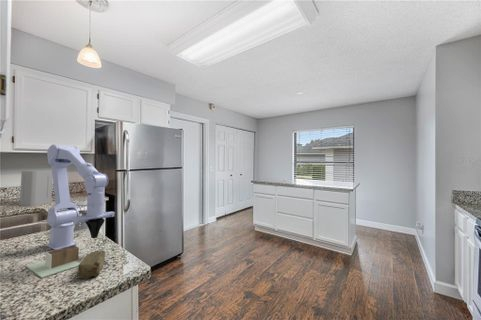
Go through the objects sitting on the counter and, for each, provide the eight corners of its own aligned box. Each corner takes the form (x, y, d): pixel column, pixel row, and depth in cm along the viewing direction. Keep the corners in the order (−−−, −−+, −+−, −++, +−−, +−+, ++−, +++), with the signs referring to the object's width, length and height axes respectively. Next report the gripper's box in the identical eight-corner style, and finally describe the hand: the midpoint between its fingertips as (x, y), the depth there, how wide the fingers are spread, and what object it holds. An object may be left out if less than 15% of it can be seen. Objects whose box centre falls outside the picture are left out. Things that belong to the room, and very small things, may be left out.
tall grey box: (15, 207, 168) (17, 171, 168) (21, 204, 180) (22, 170, 181) (48, 205, 179) (50, 171, 179) (51, 202, 191) (52, 170, 192)
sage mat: (26, 266, 75) (26, 265, 75) (64, 255, 85) (64, 254, 85) (41, 278, 68) (41, 277, 68) (81, 265, 77) (81, 264, 77)
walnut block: (72, 256, 83) (44, 265, 76) (73, 245, 83) (45, 252, 76) (78, 259, 81) (50, 268, 74) (78, 247, 81) (50, 255, 74)
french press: (76, 233, 112) (79, 184, 113) (67, 229, 118) (69, 183, 119) (97, 228, 120) (99, 183, 121) (87, 225, 126) (89, 182, 127)
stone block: (105, 262, 80) (106, 249, 80) (98, 278, 70) (99, 262, 70) (86, 265, 78) (87, 251, 78) (76, 281, 67) (77, 265, 67)
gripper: (79, 207, 79) (78, 245, 79) (119, 202, 92) (117, 234, 91) (71, 205, 83) (69, 241, 83) (110, 200, 95) (108, 231, 95)
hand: (94, 237), depth 87 cm, fingers closed
